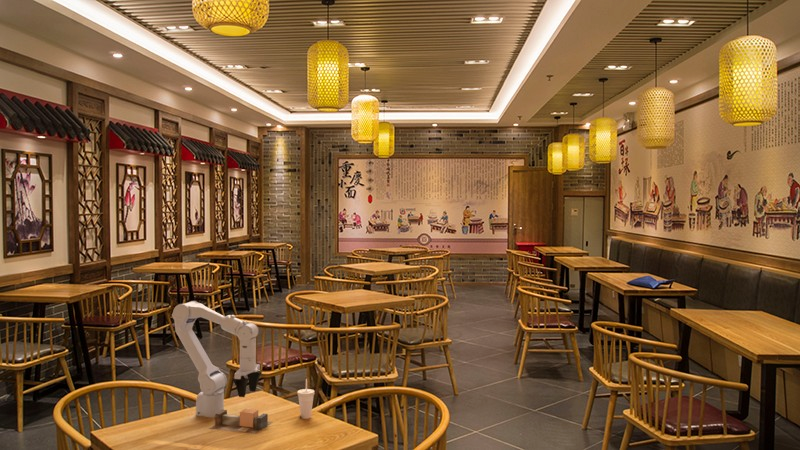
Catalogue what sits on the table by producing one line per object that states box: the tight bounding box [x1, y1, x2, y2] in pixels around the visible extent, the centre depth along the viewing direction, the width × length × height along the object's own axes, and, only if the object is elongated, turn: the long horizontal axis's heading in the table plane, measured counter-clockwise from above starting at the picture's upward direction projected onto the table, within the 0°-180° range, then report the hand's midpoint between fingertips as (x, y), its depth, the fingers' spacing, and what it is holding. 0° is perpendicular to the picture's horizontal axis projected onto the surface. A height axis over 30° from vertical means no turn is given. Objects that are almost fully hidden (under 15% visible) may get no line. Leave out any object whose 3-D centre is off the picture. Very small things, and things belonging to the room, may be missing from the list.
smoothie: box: [296, 378, 315, 420], centre depth 224 cm, size 6×6×14 cm
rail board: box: [208, 409, 273, 435], centre depth 212 cm, size 18×12×5 cm, turn 75°
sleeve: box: [239, 408, 259, 427], centre depth 211 cm, size 5×4×5 cm
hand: (247, 393), depth 221 cm, fingers open, 7 cm apart
